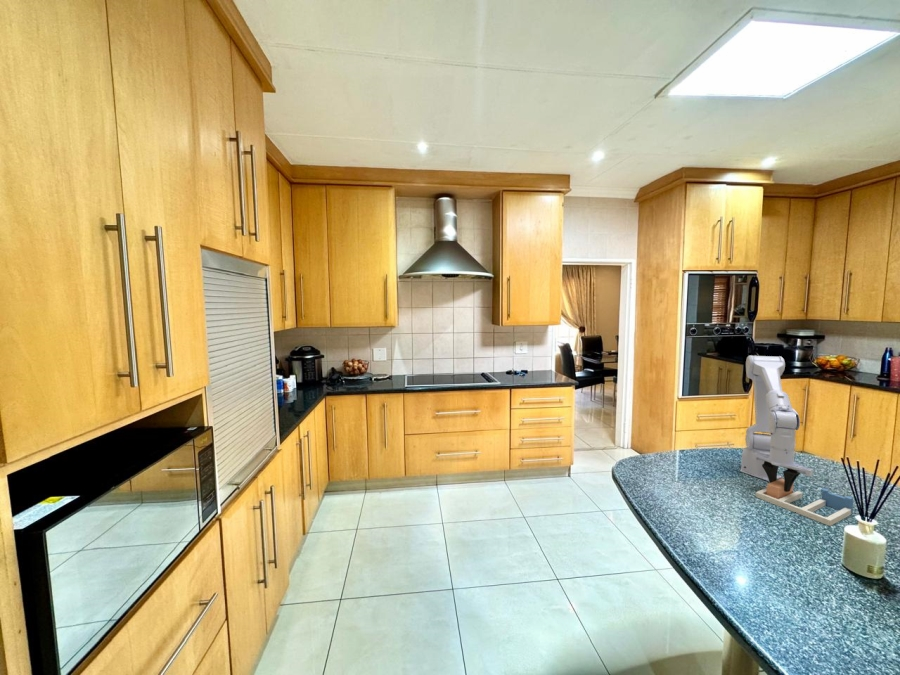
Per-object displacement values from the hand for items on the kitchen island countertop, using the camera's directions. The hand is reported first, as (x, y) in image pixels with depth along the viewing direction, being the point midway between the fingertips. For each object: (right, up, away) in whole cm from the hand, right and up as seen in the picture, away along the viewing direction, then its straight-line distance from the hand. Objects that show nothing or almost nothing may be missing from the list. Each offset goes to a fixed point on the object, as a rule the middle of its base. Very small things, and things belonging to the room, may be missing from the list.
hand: (780, 488), depth 114 cm
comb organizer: (+2, -3, -5) cm, 6 cm away
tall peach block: (0, -3, 0) cm, 3 cm away
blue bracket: (+11, -3, -7) cm, 13 cm away
